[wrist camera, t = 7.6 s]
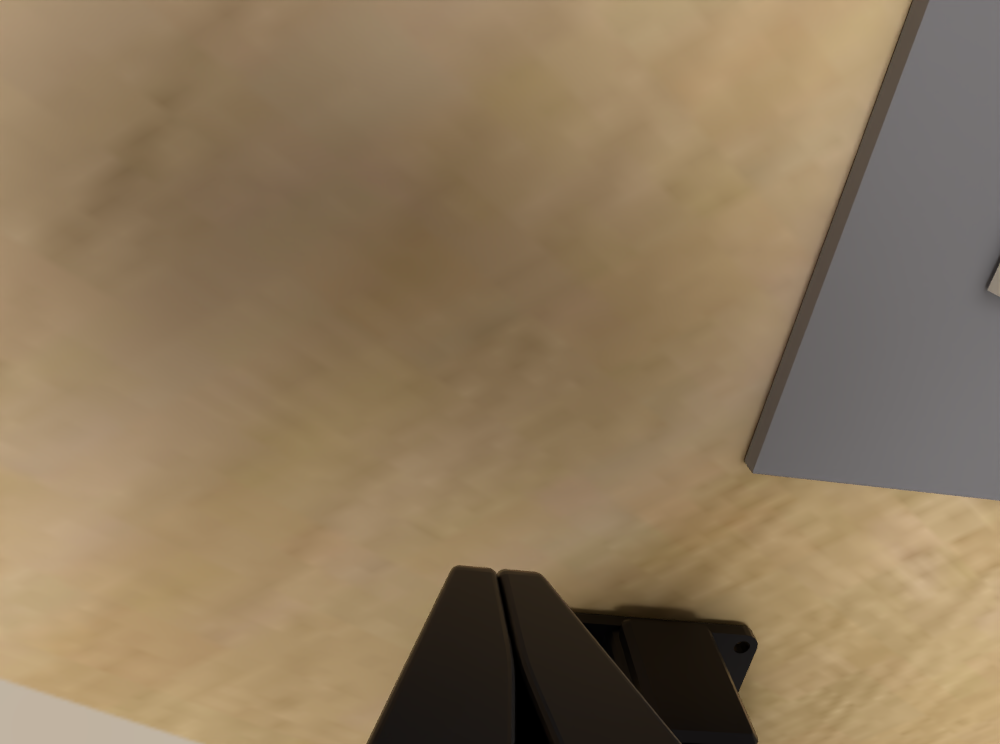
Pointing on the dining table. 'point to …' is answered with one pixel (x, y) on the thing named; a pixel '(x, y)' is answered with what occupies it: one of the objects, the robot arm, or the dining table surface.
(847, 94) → the dining table surface
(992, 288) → the tile
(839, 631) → the dining table surface
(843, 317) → the mat
